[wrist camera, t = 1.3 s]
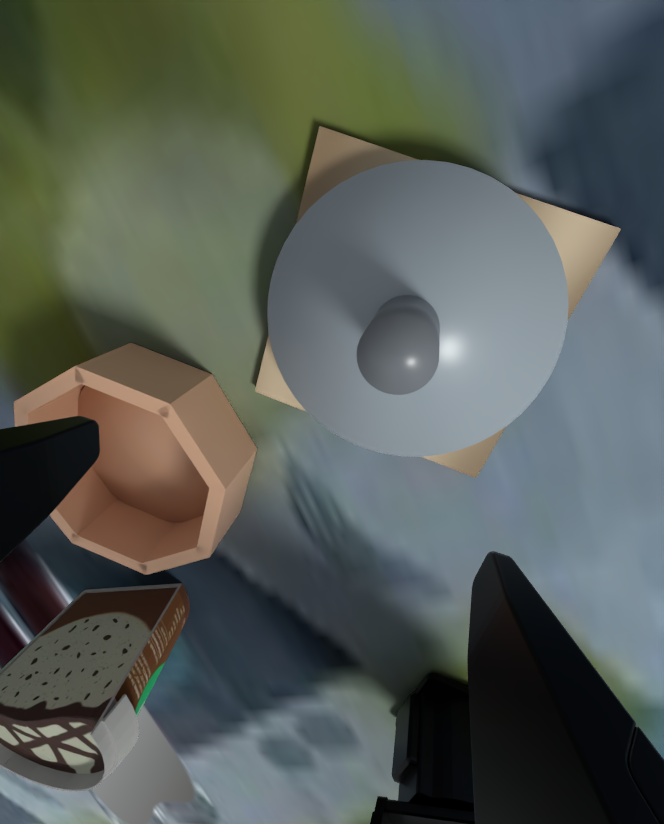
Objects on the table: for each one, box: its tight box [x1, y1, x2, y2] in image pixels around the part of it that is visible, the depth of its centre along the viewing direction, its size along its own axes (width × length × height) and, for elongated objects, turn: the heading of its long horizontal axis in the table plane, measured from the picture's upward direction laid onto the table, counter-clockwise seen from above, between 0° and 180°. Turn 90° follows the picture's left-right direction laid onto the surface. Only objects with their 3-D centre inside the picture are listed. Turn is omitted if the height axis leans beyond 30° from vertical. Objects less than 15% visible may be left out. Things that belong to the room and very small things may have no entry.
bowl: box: [14, 343, 257, 575], centre depth 24 cm, size 12×12×4 cm
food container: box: [0, 583, 190, 791], centre depth 29 cm, size 12×6×10 cm, turn 108°
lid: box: [267, 160, 569, 457], centre depth 17 cm, size 12×12×5 cm
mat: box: [255, 126, 621, 478], centre depth 19 cm, size 12×12×1 cm
